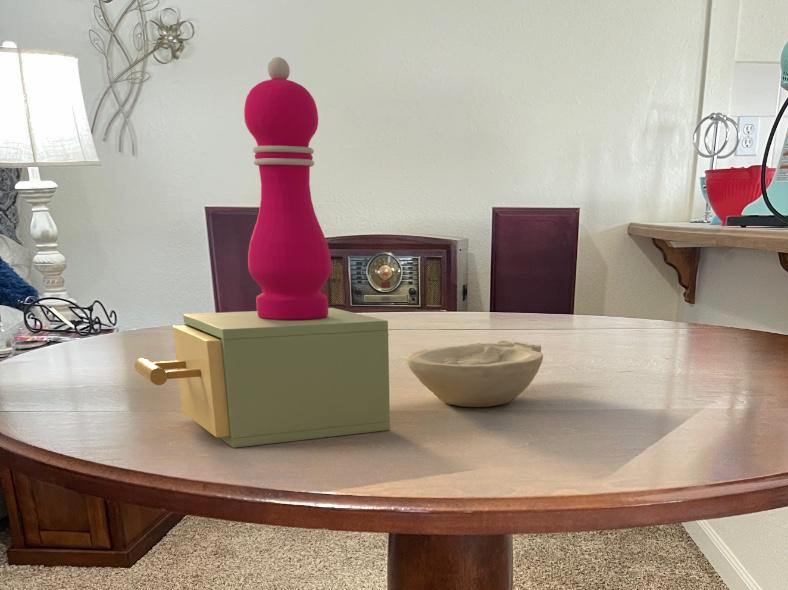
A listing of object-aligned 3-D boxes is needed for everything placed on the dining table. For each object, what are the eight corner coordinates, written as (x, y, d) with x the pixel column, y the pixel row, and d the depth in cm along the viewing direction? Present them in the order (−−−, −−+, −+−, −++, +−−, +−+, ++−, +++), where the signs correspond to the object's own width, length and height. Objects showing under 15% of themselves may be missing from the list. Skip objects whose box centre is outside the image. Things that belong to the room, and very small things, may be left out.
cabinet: (233, 448, 74) (222, 329, 71) (194, 419, 84) (182, 314, 81) (390, 430, 81) (388, 320, 77) (336, 405, 91) (332, 307, 87)
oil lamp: (472, 375, 108) (473, 333, 106) (583, 386, 102) (586, 342, 100) (379, 404, 91) (378, 355, 89) (506, 420, 85) (507, 366, 83)
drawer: (164, 443, 72) (152, 344, 69) (135, 416, 81) (123, 328, 78) (364, 421, 80) (361, 332, 77) (317, 399, 89) (313, 318, 86)
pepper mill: (235, 318, 78) (212, 53, 70) (283, 311, 84) (267, 66, 76) (304, 323, 75) (289, 47, 67) (348, 315, 81) (340, 61, 73)
